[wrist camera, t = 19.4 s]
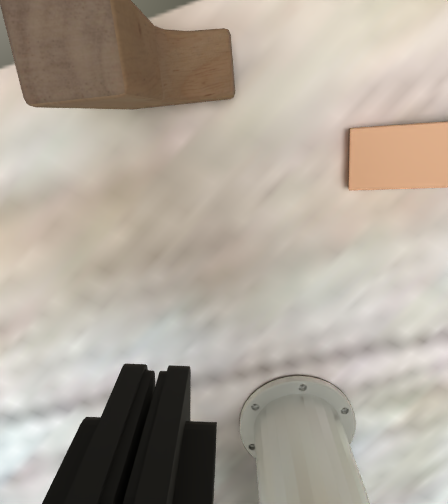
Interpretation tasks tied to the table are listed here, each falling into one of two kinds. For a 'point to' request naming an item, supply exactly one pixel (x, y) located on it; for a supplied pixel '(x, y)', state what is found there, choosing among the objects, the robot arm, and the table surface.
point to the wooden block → (112, 56)
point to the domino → (399, 156)
